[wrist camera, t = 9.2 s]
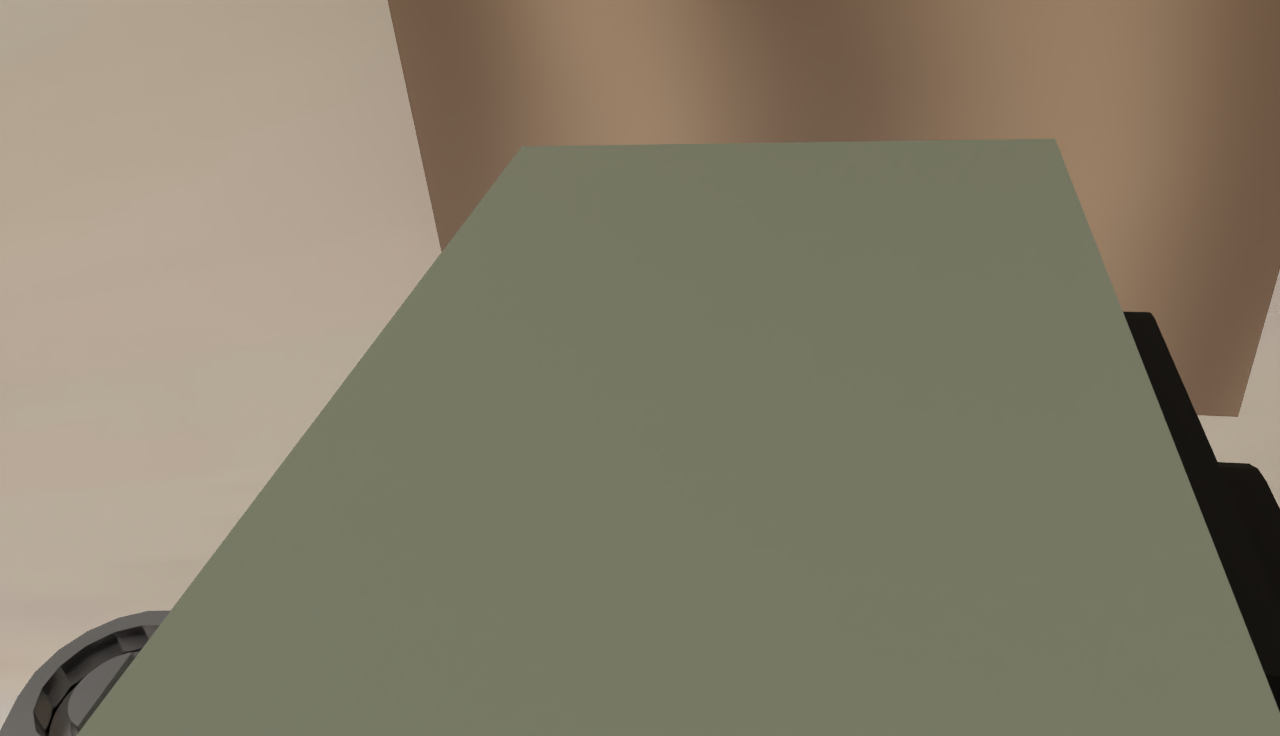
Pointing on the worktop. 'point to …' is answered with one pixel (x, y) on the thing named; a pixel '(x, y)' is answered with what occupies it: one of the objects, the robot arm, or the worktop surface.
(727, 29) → the walnut base
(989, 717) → the sage block
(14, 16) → the worktop surface
